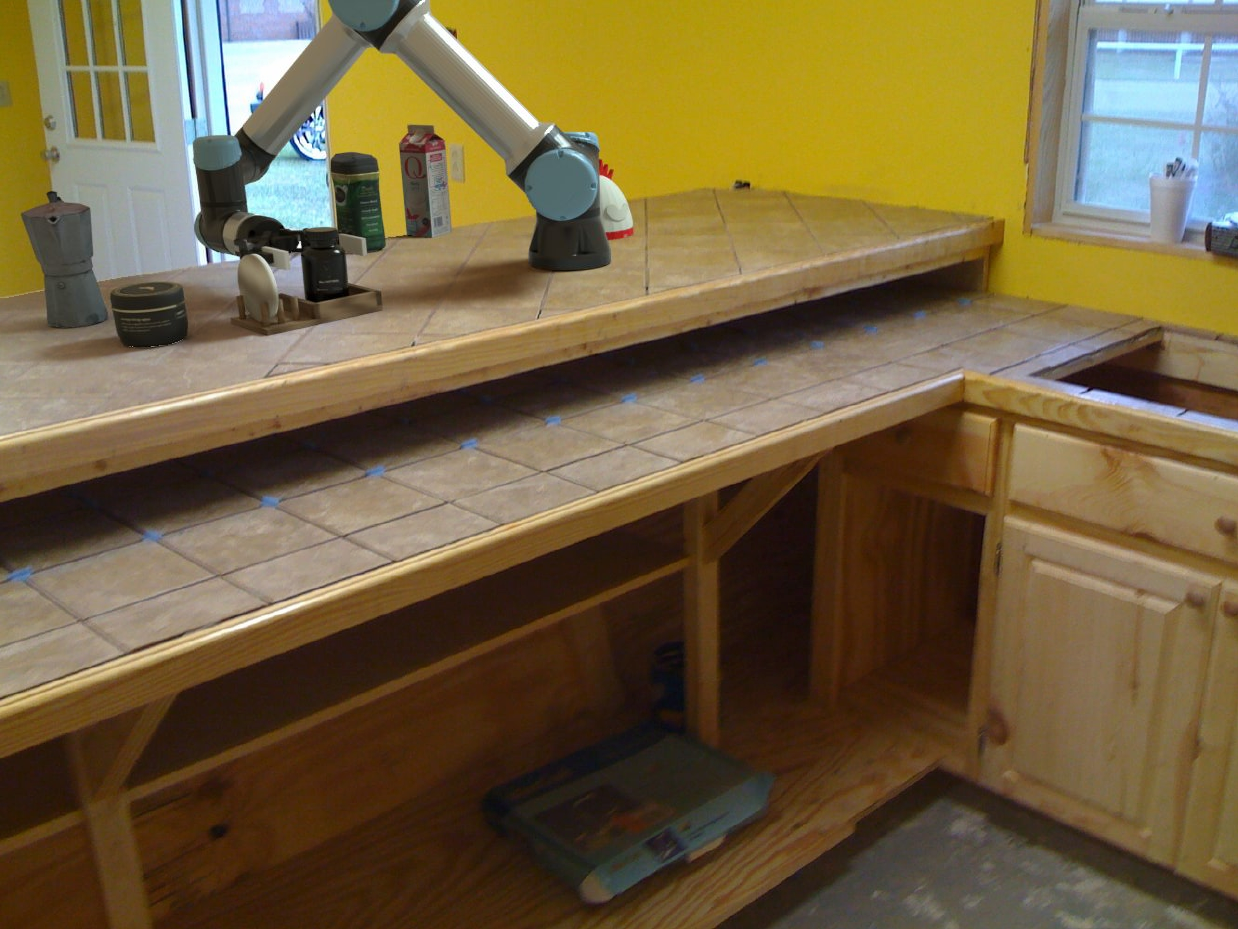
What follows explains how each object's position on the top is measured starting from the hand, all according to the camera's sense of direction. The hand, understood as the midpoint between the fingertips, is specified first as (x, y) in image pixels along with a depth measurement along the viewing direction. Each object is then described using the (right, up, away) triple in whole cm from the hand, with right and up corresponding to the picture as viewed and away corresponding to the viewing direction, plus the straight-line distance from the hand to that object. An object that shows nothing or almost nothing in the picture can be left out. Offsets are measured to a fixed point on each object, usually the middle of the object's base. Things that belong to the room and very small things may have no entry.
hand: (327, 253), depth 182 cm
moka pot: (-39, -10, +2) cm, 41 cm away
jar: (-23, -14, -9) cm, 28 cm away
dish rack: (-3, -9, +2) cm, 10 cm away
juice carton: (+5, +16, +66) cm, 68 cm away
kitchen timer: (+41, +15, +62) cm, 75 cm away
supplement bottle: (-1, -8, +4) cm, 9 cm away
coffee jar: (-6, +10, +52) cm, 53 cm away
